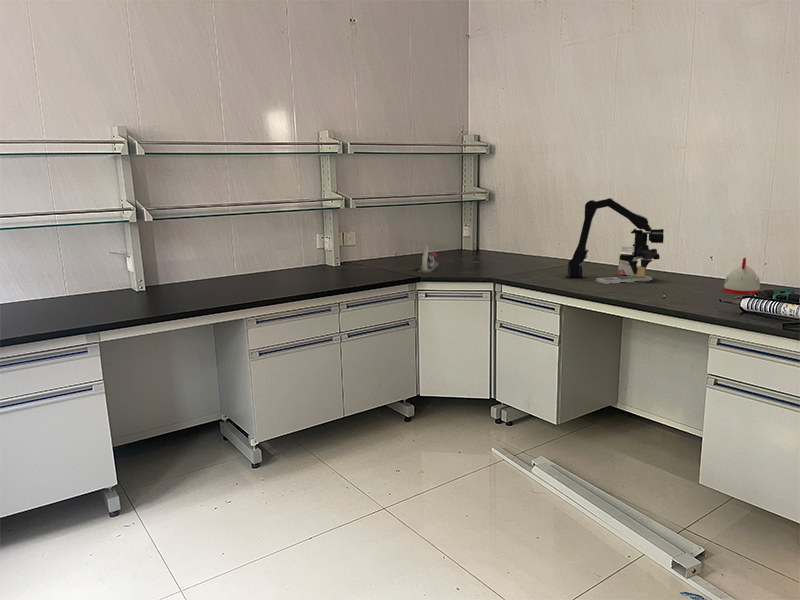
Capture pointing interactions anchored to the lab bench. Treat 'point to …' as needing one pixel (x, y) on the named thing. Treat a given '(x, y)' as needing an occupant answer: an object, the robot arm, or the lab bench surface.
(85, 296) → the lab bench surface
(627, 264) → the ink cartridge box
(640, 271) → the brass block
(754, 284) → the kitchen timer
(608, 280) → the grey compartment frame
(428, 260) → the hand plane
